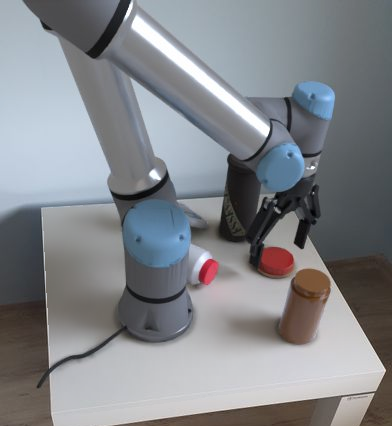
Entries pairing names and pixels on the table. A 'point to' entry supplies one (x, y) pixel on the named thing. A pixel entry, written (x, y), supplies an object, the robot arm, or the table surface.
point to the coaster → (276, 275)
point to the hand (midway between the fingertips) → (276, 255)
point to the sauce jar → (304, 306)
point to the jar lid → (276, 261)
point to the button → (193, 217)
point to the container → (239, 200)
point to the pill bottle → (200, 266)
